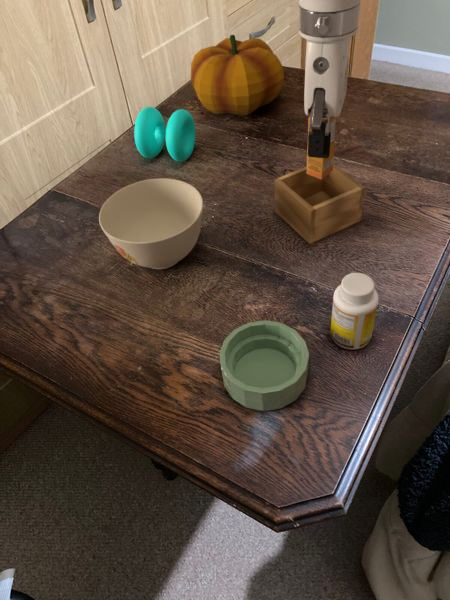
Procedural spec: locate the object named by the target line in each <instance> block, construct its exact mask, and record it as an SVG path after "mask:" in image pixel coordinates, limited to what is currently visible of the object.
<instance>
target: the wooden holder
mask: <svg viewBox="0 0 450 600" xmlns="http://www.w3.org/2000/svg"><path fill="white" fill-rule="evenodd" d="M273 181H274V182H273V183H274V187H273V188H274V212H275V214H276V215H278V216H279V217H280V218H281V219H282V220H283V221H284V222H285V223H286V224H287V225H288V226H290V227H291V228H292V229H293V230H294V231H295V232H296V233H297V234H298V235H299V236H300V237H301V238H302V239H304V240H305V241H306V243H308V244H309V245H312V244H313V243H315V242H318V241H320V240H322V239H324V238H326V237H328V236H331V235H333V234H335V233H337V232H339V231H342V230H344V229H346V228H348V227H351V226H353V225H355V224H357V223H359V222H361V221H362V218H363V217H362V215H363V209H364V201H365V194H366V186H365V185H363V184H362V183H361V182H359V181H358V180H356V179H355V178H353V177H352V176H350V174H348V173H347V172H345V171H343V170H342V169H341V168H339V167H338V166H337V165H335V163H333V171H332V172H331V173H329V174H328V175H327V176H326V177H325V178H323V179H322V180H321V179H319V178H316V177H314V176H311V175H308V174H307V165H306V166H304V167H302V168H299V169H296V170H294V171H292V172H289V173H286V174H284V175H282V176H279V177H277V178H275V179H274V180H273Z"/></svg>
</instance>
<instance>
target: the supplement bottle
mask: <svg viewBox="0 0 450 600" xmlns="http://www.w3.org/2000/svg"><path fill="white" fill-rule="evenodd" d="M332 296H333V298H332V308H331V309H332V310H331V319H330V332H329V333H330V337H331V339H332V340H333V342H334V343H335V344H336V345H337V346H339V347H340V348H342V349H346V350H359V349H362V348H364V347H365V346H367V345H368V344H369V343H370V341H371V339H372V336H373V332H374V327H375V321H376V316H377V311H378V305H379V293H378V292H377V290H376V289H375V282H374V280H373V279H372V277H370V276H369V275H368V274H365V273H362V272H351V273H348V274H346V275H345V276H344V277H343V278H342V280H341V283H340V284H339V285H338V286H337V287H336V288H335V290H334V293H333V295H332Z"/></svg>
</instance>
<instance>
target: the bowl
mask: <svg viewBox="0 0 450 600" xmlns="http://www.w3.org/2000/svg"><path fill="white" fill-rule="evenodd" d="M203 212H204V199H203V196H202V195H201V193H200V192H199V191H198V189H197V188H196V187H194V186H193V185H191V184H189V183H188V182H186V181H183V180H180V179H174V178H167V177H165V178H162V177H161V178H150V179H144V180H140V181H137V182H133V183H131V184H128V185H126V186H124V187H122V188H120V189H119V190H117V191H116V192H114V193H113V194H111V195H110V196H109V197H108V198H107V199H106V201H104V203H103V204H102V206H101V208H100V211H99V213H98V222H99V226H100V228H101V230H102V231H103V233H104V234H105V236H106V237H107V239H108V240H109V241H110V243H111V245H112V246H113V248H115V250H116V251H117V252H118V254H120V255H121V256H122V257H123V258H124V259H125V260H127V261H128V262H130V263H132V264H134V265H136V266H139V267H143V268H148V269H152V270H153V269H154V270H166V269H169V268H172V267H174V266H175V265H176V264H178V262H181V260H183V259H185V257H187V256H188V255H189V254H190V253H191V252H192V250H193V249H194V247H195V246H196V244H197V242H198V239H199V237H200V233H201V227H202V220H203Z"/></svg>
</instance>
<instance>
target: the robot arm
mask: <svg viewBox="0 0 450 600" xmlns="http://www.w3.org/2000/svg"><path fill="white" fill-rule="evenodd" d="M361 2H362V1H361V0H299V1H298V3H299V4H298V35H299V36H300V37H301V38H303V39H305V40H306V44H305V56H304V57H305V58H304V59H305V64H304V65H305V66H304V91H303V93H304V95H303V101H304V102H303V105H304V107H303V108H304V109H303V110H304V114H305V115H306V116H307V117H309V116H310V128H309V133H308V132H307V146H308V156H309V157H316V158H328V157H329V155H330V141H331V132H329V128H330V118H331V116H334V117H337V118H338V117H339V116H340V115H341V113H342V110H343V106H344V103H345V99H346V96H347V91H348V90H347V89H348V76H349V60H350V46H351V45H350V44H351V38H352V37H354V35H356V34H357V33H358V32H359V31H358V30H359V21H360V12H361ZM323 110H326V111H323ZM322 118H326V123H325V122H322Z"/></svg>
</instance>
